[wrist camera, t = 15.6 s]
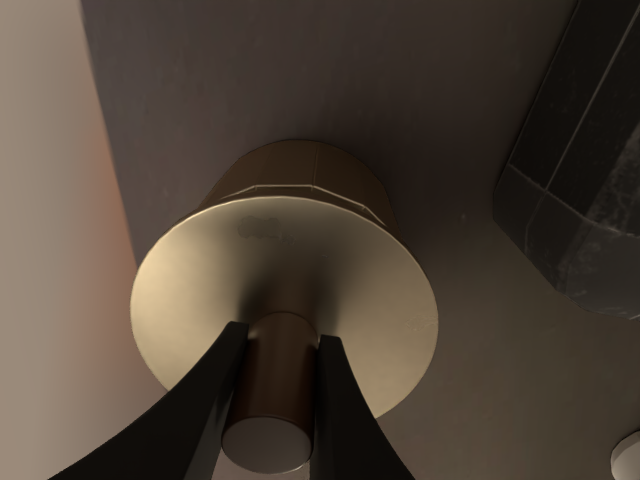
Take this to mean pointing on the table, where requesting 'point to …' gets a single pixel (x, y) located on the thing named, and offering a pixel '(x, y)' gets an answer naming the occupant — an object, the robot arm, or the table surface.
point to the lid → (284, 312)
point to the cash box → (583, 164)
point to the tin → (308, 177)
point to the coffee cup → (627, 458)
